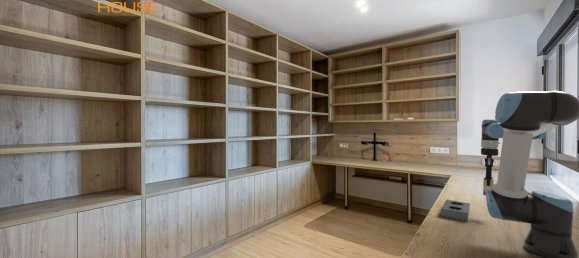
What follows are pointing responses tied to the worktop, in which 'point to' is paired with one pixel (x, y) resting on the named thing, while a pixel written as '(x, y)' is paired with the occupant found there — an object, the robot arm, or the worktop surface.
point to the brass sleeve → (484, 186)
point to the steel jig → (455, 210)
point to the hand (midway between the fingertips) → (488, 190)
